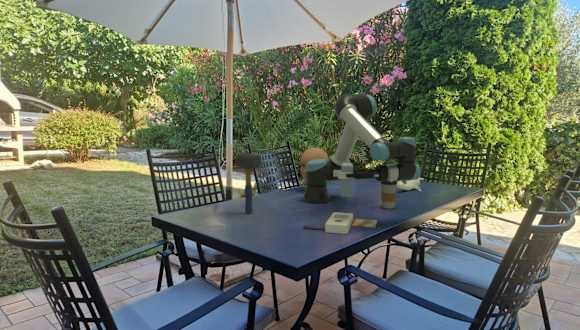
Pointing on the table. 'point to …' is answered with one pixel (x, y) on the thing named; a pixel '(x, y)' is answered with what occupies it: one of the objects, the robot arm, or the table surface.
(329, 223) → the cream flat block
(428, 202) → the table surface
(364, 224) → the coaster
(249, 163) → the rubber mallet
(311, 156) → the mannequin head
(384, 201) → the coffee cup
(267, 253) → the table surface
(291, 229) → the table surface
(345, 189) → the pale grey tall block
